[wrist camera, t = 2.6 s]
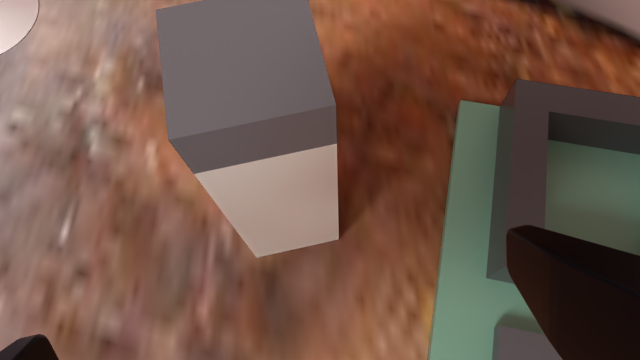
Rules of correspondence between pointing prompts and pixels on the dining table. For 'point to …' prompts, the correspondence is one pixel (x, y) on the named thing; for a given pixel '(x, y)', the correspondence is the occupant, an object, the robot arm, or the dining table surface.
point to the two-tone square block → (254, 116)
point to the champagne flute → (16, 21)
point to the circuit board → (528, 206)
